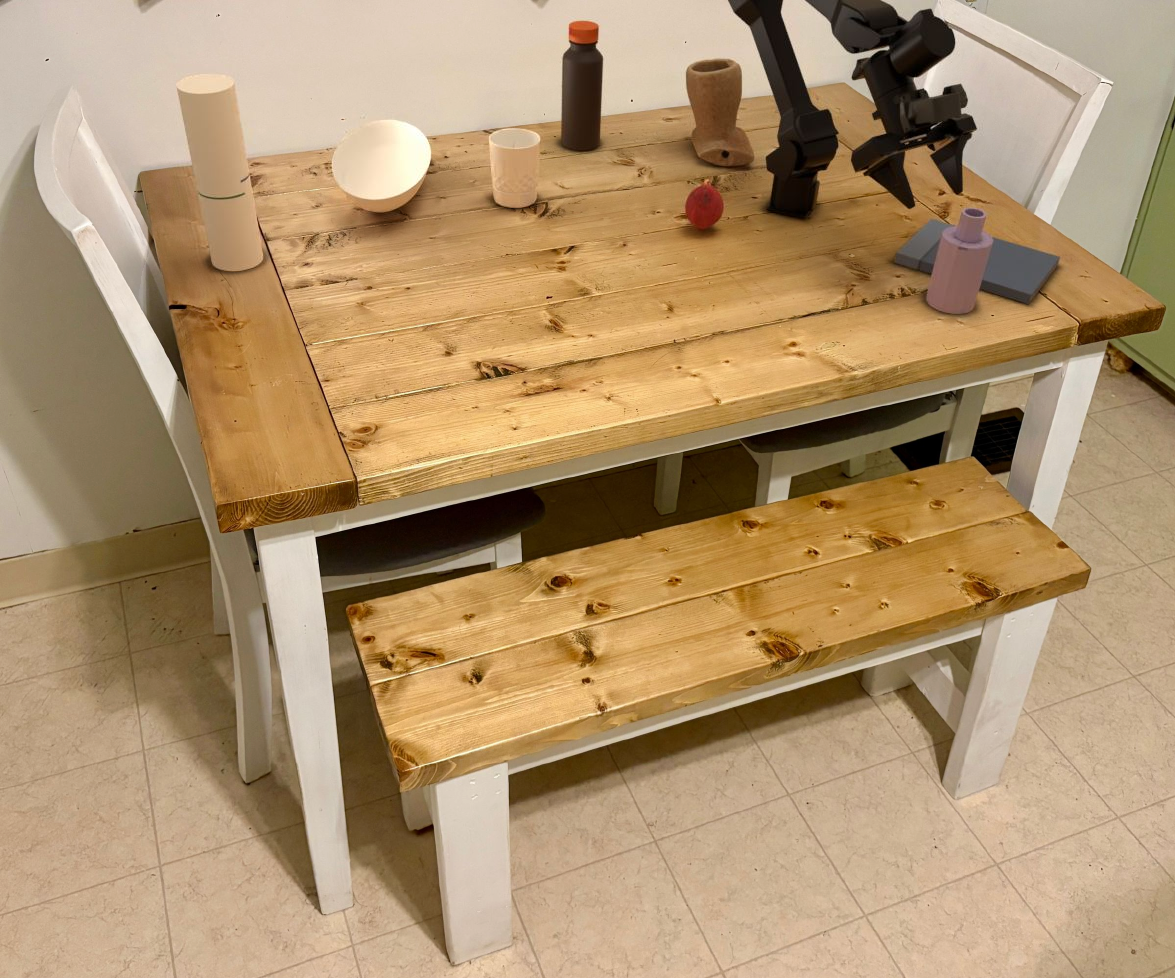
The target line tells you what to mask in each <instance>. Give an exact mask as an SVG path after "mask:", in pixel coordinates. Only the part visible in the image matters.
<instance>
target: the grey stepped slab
mask: <svg viewBox="0 0 1175 978" xmlns="http://www.w3.org/2000/svg"><path fill="white" fill-rule="evenodd" d="M951 226H956V225H955V224H951V223H948V222H945V221H941V220H938V219H934V218H930V220H928V221H927V222H926V223H925V224H924V225H923V226H922V227H921V228H920V229H919V230H918V231H917V232H916V233H915V234H914V235H913V236H912V237H911V238H910V239H909V240H908V241H907V242H906V243H905V244H904V245H903V246H902V247H901V248H900V249H899V250H898V251H897V252H896V253H895V258H894V263H895V264H897V265H900V266H903V267H907V268H911V269H913V270H915V271H916V270H917V271H920V272H923V273H927V274H930V275H932V271H933V268H934V264H935V260H936V256H937V252H938V248H939V244H940V240H941V236H942V233H943V231H944V229H946V228H948V227H951ZM991 237H992V239H993V244H992V247H991V250H990V254H989V257H988V261H987V264H986V268H985V271H984V275H983V278H982V282H981V285H980V289H979V290H980V291H984V292H988V293H990V294H994V295H997V296H1000V297H1003V298H1007V299H1009V300H1013V301H1016V302H1019V303H1022V304H1026V305H1030V303H1031V302H1032V300H1033V299H1034V297H1035V296H1036V295H1037V294H1038V292H1039V291H1040V290H1041V288H1042V287H1043V286H1044V284H1045V283H1046V282H1047V281H1048V279H1049V278H1050V276H1051V275H1052V274H1053V273H1054V271H1055V270H1056V269H1057V267H1058V265H1059V262H1060V259H1061V256H1059V255H1056V254H1052V253H1049V252H1044V251H1042V250H1038V249H1035V248H1031V247H1028V246H1025V245H1021V244H1018V243H1014V242H1011V241H1007V240H1005V239H1000V238H997V237H994V236H991Z"/></svg>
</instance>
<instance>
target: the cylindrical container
mask: <svg viewBox="0 0 1175 978" xmlns="http://www.w3.org/2000/svg"><path fill="white" fill-rule="evenodd" d="M175 86H176V91H177V96H178V101H179V105H180V111H181V115H182V121H183V125H184V132H185V136H186V142H187V146H188V151H189V156H190V161H191V162H190V163H191V166H192V172H193V176H194V180H195V187H196V192H197V196H198V201H199V206H200V211H201V216H202V221H203V226H204V230H205V236H206V241H207V246H208V250H209V256H210V261H211V264H212V266H213V267H214V268H216V269H218V270H221V271H226V272H240V271H241V272H242V271H246V270H250V269H253V268H255V267H257V266H259V265H260V264H261V263H262V262H263V260H264V252H263V246H262V241H261V235H260V229H259V222H258V217H257V211H256V210H257V209H256V205H255V199H254V194H253V193H254V192H253V186H252V180H251V174H250V168H249V162H248V157H247V151H246V150H247V149H246V145H245V139H244V132H243V125H242V121H241V114H240V108H239V102H238V97H237V92H236V85H235V80H234V79H233V78H232V77H230V76H228V75H225V74H219V73H200V74H194V75H190V76H186V77H183V78H181V79H180V80H178V81H177V82H176V85H175Z"/></svg>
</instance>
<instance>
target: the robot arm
mask: <svg viewBox="0 0 1175 978" xmlns="http://www.w3.org/2000/svg"><path fill="white" fill-rule="evenodd" d="M727 1H728V4H729V6H730V8H731V9H732V12H733V13H734V14H735V15H736V16H737V17H738V18H739V19H740V20H741V21H742V22H743V23H744V24H746V25H747V27H748V28H749V29H750V32H751V35H752V38H753V41H754V44H755V47H756V50H757V51H758V55H759V58H760V61H761V64H762V67H763V69H764V72H765V75H766V78H767V82H768V84H769V87H770V90H771V93H772V95H773V98H774V101H775V104H776V107H777V110H778V113H779V116H780V119H779V125H778V129H777V135H776V138H777V142H778V147H777V148H775V149H774V150H773V151H772V152H770V153H769V154H767V155H766V156H765V166H766V171H767V172H769V173H770V174H772V175H773V179H772V185H771V191H770V199H769V203H768V204H767V205H766V207H765V210H766V211H768V212H773V213H776V214H781V215H786V216H790V217H796V218H799V219H806V218H807V217H808V215H809V214H810V212H812V211H813V210H814V209H815V207H816V206H817V203H818V196H819V192H820V191H819V190H820V185H821V181H820V180H818V175H819V172H824V171H827V170H828V169H829V166H830V164H831V162H832V161H833V160H834V159H835V157H836V154H837V150H838V149H839V139H838V136H837V135H840V133H839V131H838V129H837V128H836V126H835V123H834V118H833V115H832V113H831V111H830V109H829V108H824V109H819V108H818V107H817V106H815V105H814V103H813V102H812V99H811V96H810V93H809V90H808V88H807V85H806V81H805V80H804V76H803V73H802V70H801V68H800V65H799V64H800V63H799V62H798V59H797V56H796V52H795V50H794V48H793V44H792V41H791V38H790V36H789V32H788V30H787V27H786V24H785V21H784V18H783V14H782V10H783V3H784V0H727ZM804 1H805V2H806V3H807V4H809V6H810V7H812V8H813V9H815V10H816V11H817V12H818V13H819V14H821V15H822V16H823V17H824V18H825V19H826V20H827V21H828V22H829V23H830V29H831V34H832V35H833V37H834V38H835V39H836V40H837V41H838V43H839V44H840V46H841V47H842V48H843V49H844V50H845V51H846V52H847V53H849V54H852V55H856V54H862V53H865V52H871V51H875V50H877V51H876V52H875V53H873V54H872V55H871V56H868V57H867V56H866V57H862V58H859V59H856V63H855V67H854V69H853V71H852V73H851V80H852V81H859V80H862V79H864V80H865V83H866V85H867V89H868V90H869V93H870V95H871V98H872V100H873V103H874V106H875V108H876V110H875V111H873V112H872V113H871V116H872V119H873V121H874V122H875V121H878V120H880V121H881V123H882V126H883V128H884V131H885V133H883V134H878V135H875V136H872V137H870V138H869V139H868V140H866V141H865V142H863V143H862V144H861V145H859V146H858V147H856V148H854V149H853V150H852V151H851V157H850V163H851V166H852V168H853V171H854V173H860V172H863V173H862V174H863V177H869V178H871V179H872V180H873V181H875V182H876V183H877V184H878V185H880V186H881V187H883V188H884V189H885V190H886V191H887V192H889V193H890V194H891V195H892V196H893V198H895V199H897V200H898V201H899V202H900V203H901V204H902V205H903V206H904V207H905V208H907V210H912V209H913V208H915V207H916V202H915V198H914V194H913V191H912V188H911V185H910V181H909V179H908V177H907V174H906V170H905V168H904V166H905V159H906V151H910V150H915V149H918V148H923V147H927V148H928V149H929V150H930V151H932V153H931V154H929V157H930V159H931V160H932V162H933V163H934V165H935V166H936V168H937V169H938V171H939V173H940V174H941V176H942V178H943V179H944V180H945V182H946V183H947V185H948V187H949V188H950V189H951V191H952V192H953V193H954V194H955V195H956V196H957V195H960V194H962V193H963V192H964V179H963V178H964V175H963V173H964V172H963V155H964V149H965V147H966V145H967V143H968V141H969V140H971V139H972V137H973V133H974V132H977V131H978V127H977V125H976V122H975V120H974V116H973V115H970V114H968V113H966V112H964V113H962V109H965V108H966V107H967V106H968V103H969V98H968V96H967V92H966V90H965V88H964V87H963V84H962V83H957V84H952V85H948V86H944V87H943V89H942V94H938V95H935V96H930V95H929V93H928V91H927V89H925V88H924V87H922V88H919V89H918V88H917V86H916V83H915V80H914V79H915V78H916V79H917V78H920V77H921V76H923V75H924V74H926V73H927V72H929V71H930V70H931V69H933V68H934V67H935V66H937V65H938V64H939V63H941V62H942V61H944V60H945V59H946V58H948V57H949V56H951V54H952V53H953V52H955V51H954V50H955V48H956V37H955V36H956V35H955V33H954V30H953V29H952V27H950V25H948V24H947V23H946V21H945V20H944V19H942V18H940V17H938V16H935V15H934V14H935V13H934V11H933V9H932V8H925V9H920V10H918V11H917V12H915V14H913V16H912V17H911V18H910V19H909V20H907V19H905V18H903V17H902V16H901V15H899V14H898V11H897V10H896V8H895V7H894V6H893V5H892V4H890V3H888V2H886V1H884V0H804ZM887 47H888V49H886V48H887ZM884 48H885V49H884Z"/></svg>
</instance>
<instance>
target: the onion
mask: <svg viewBox="0 0 1175 978" xmlns="http://www.w3.org/2000/svg"><path fill="white" fill-rule="evenodd" d="M712 182H713V181H712V180H711V179H709V178H707V179H704V181H703V182H702V184H701V185H699V186H697V187H695V188H694V189H693V190H692V191H691V192H690V193H689V195H688V196H687V199H686V201H685V205H684V213H685V215H686V217H687V220H688V221H689V222H690V224H691V225H692V226H693V227H695V228H697V229H698V230H700V231H705V230H706V229H709V228H711V227H712V226H714V225H715V224H716V223H718V222H719V220H721V218H722V216H723V213H724V208H725V207H724V206H725V205H724V204H725V203H724V199H723V197H722V194H721V193H720V191H719V190H718V189H717V188H716V187H715V186H713V185H712Z"/></svg>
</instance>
